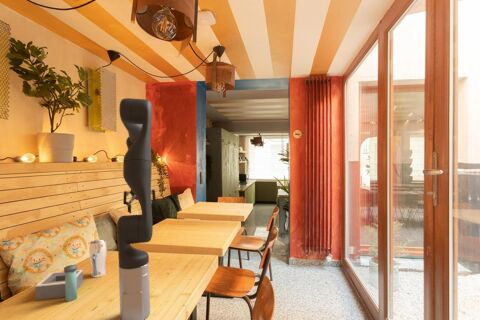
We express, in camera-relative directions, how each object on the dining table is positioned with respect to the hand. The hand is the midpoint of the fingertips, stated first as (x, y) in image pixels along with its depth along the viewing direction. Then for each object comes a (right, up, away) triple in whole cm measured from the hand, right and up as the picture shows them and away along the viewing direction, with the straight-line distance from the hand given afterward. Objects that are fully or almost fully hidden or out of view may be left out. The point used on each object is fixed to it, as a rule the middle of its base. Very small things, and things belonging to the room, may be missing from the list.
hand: (140, 212), depth 127 cm
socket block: (-24, -28, -19) cm, 42 cm away
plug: (-16, -27, -26) cm, 41 cm away
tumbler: (-17, -28, -5) cm, 33 cm away
